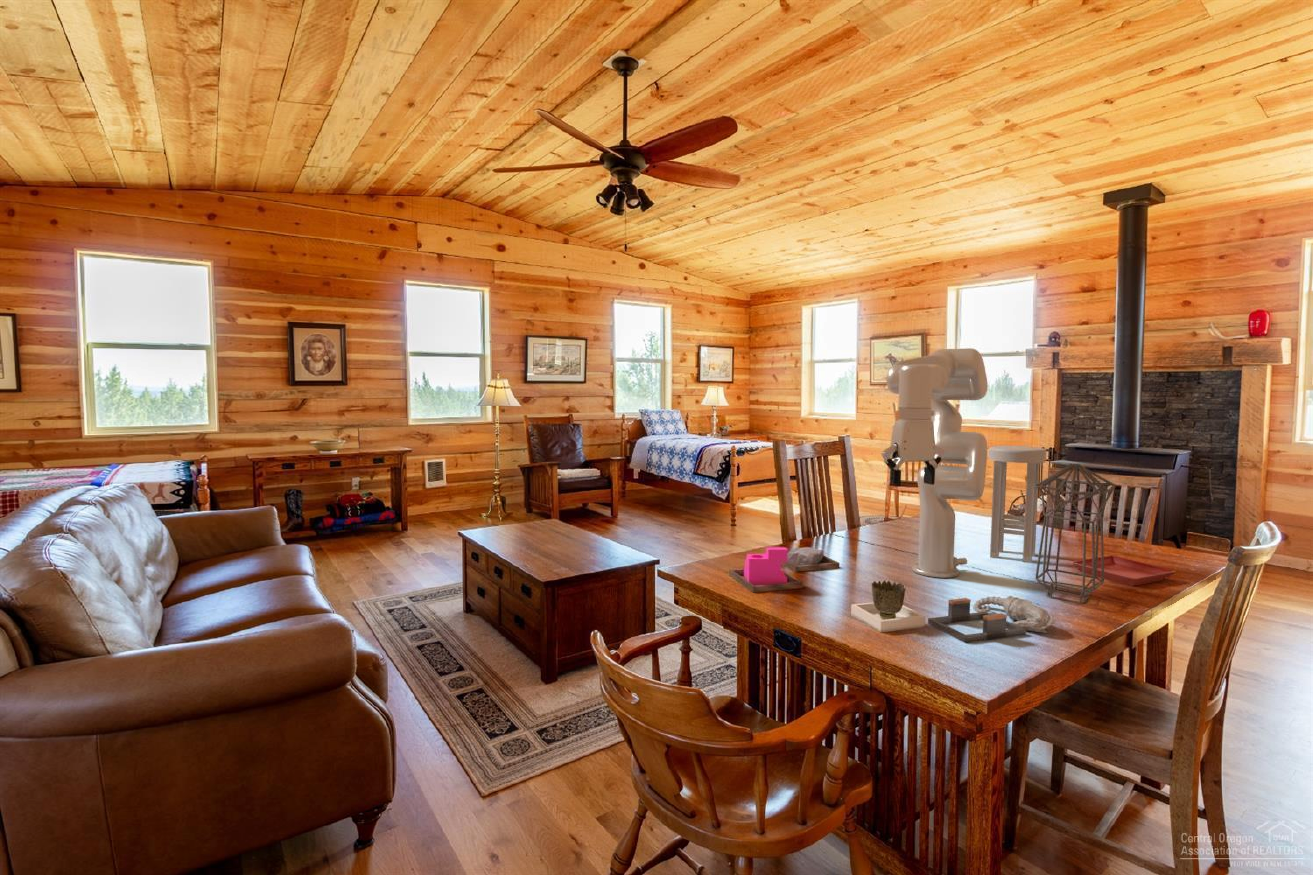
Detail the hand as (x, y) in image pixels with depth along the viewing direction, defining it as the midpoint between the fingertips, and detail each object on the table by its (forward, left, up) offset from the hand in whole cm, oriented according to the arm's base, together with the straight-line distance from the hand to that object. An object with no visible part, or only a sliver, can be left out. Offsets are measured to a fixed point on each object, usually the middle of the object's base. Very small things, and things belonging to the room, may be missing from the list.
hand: (912, 484), depth 159 cm
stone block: (+6, -42, -30) cm, 52 cm away
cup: (+12, +8, -30) cm, 33 cm away
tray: (+12, +8, -30) cm, 34 cm away
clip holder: (-4, +18, -30) cm, 35 cm away
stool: (-62, -30, -31) cm, 75 cm away
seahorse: (-16, +16, -31) cm, 38 cm away
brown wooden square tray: (+26, -28, -30) cm, 49 cm away
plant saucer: (-75, -4, -31) cm, 81 cm away
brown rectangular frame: (+6, -42, -30) cm, 52 cm away
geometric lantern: (-43, +7, -31) cm, 53 cm away
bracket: (+26, -28, -30) cm, 49 cm away
